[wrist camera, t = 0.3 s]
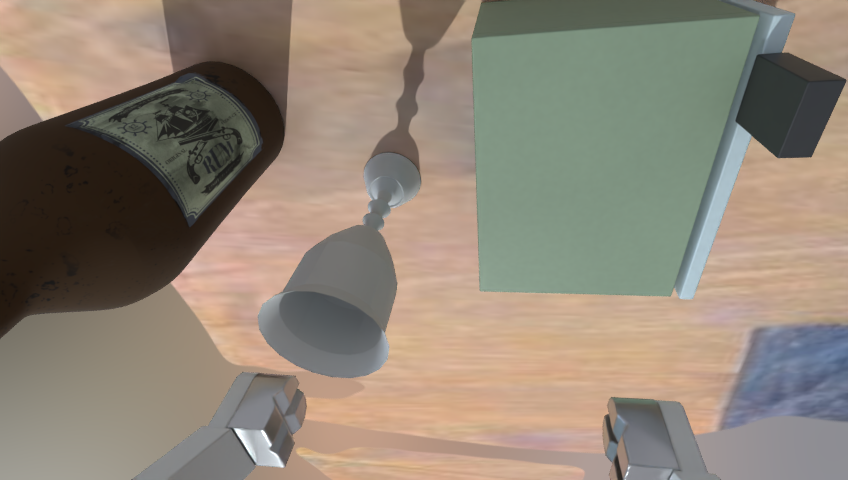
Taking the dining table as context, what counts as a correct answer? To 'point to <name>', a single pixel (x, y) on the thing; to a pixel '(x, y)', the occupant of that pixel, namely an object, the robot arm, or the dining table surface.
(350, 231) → the chalice
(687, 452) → the robot arm
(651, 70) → the cabinet
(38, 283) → the dark brown necked cylinder
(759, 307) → the dining table surface
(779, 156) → the sliding door
